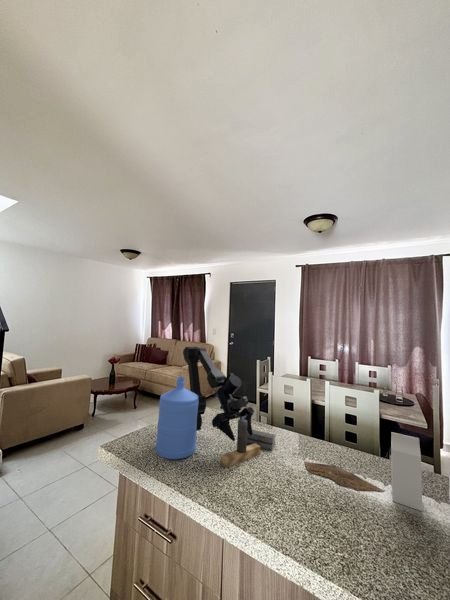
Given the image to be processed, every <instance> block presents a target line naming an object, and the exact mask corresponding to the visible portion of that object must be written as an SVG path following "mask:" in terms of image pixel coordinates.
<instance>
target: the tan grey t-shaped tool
mask: <svg viewBox="0 0 450 600" xmlns="http://www.w3.org/2000/svg"><path fill="white" fill-rule="evenodd" d="M236 435H237V438H236V449H235V450H232V451H230V452H227V453H224V454H221V455H220V459H219V464H220V465H221V466H222V467H223V468H229V467H231V466H234V465H236V464H238V463H240V462H243V461H246V460H248V459H251V458H252V457H253V458H254V457H255V456H258V455H260V454H261V448H260V446H259V445H257V444H255V443H254V444H252V445H247V444H246V443H247V420H245V419H240V418H239V419H237V434H236Z"/></svg>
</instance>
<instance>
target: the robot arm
mask: <svg viewBox="0 0 450 600" xmlns="http://www.w3.org/2000/svg"><path fill="white" fill-rule="evenodd" d="M182 355H183V358H184V361H185V363H186V364H187V368H188V379H189V388H190V390H189V391H191V392H193V393H195V394H197V395H198V401H199V403H198V413H197V429H196V431H199V430H200V431H201V430H202V423H203V422H202V421H203V417H202V415H205V411H206V409H207V400H206V399H207V398H206V396H205V395H203V393H202V391H201V382H200V372H199V365H198V363H199V362H200V363H201V366H202V367H203V369H204V371H205V373H206V375H207V376H206V381H207V382H208V383H207V384H208V385H209V387H210V388H212V389H215V390H214V393H213V397H214V398H215V397H217V399H218V401H219V404H220V406H219V408H220V410H222V411H223V412H219V413H217V414H216V415H215V416H214V417H213V418H212V420H211V424H212V428H213V429H214V428H216V429H217V430H219V431H221V432H222V433H223V434H225V435H226V436H227V437H228V438H229V439H230V440H231V441H232V442H235V441H236V439H235V438H236V437H235V435H234V432H233V429H232V428H231V424H230V421H231V420H235V419H238V418H239V419H245V420H247V431H248V433H249V434H250V435H252V434H253V433H252V430H253V428H252V417H253V415H254V413H255V410H254V407H252V406H248V405H249V399H248V398H247V396H246V395H245V396H241V397H240V399H237V398H236V397H235V398H234V397H233V396H232V395H234V394H235V393H236V392H237V390H239V388H240V387H241V386H242V383H243V381H242V379H241V378H240V377H239V376H237V375H235V373H233V372H230V373H228V375H227V376H226V375H225V374H224V373H223V371H221V369H218V368H217V366H216V365H215V364H214V362H213V360H212V358H211V357H210V355H209V353H208V351H207V349H206V348H205V347H199V346H185V347H184V349H183V351H182ZM242 408H243V409H242Z"/></svg>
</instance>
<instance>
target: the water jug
mask: <svg viewBox="0 0 450 600" xmlns="http://www.w3.org/2000/svg"><path fill="white" fill-rule="evenodd" d="M176 379H177V380H176V387H175V388H173V389H170V390H169V391H167V392H163V393H162V394H161V395H160V398H159V402H158V403H159V404H158V409H159V410H158V419H157V420H158V421H157V433H156V434H157V435H156V443H155V453H156V454H157V455H158V457H161V458H163V459H166V460H182V459H186V458H188V457H190V456H191V455H193V454H194V452H195V451H196V449H197V442H196V441H197V430H196V429H197V413H198V403H199V401H198V395H197V394H195V393H193V392H191V390H189V389H188V388H187V389H186V387H185V384H186V383H185V379H186V377H183V376H179V377H177V378H176Z"/></svg>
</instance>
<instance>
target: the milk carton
mask: <svg viewBox="0 0 450 600" xmlns="http://www.w3.org/2000/svg"><path fill="white" fill-rule="evenodd" d="M390 439H391V440H390V443H391V444H390V445H391V447H390V457H391V460H390V461H391V463H390V464H391V492H392V494H391V495H392V502H394V503H397V504H400V505H403V506H406V507H408V508H412V509H415V510H417V511H420V512H423V483H422V482H423V480H422V477H423V476H422V454H421V448H420V447H421V446H420V438H419V437H417V436H416V437H415V436H411V435H405V434H402V433H397V432H393V431H391V438H390Z"/></svg>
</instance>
